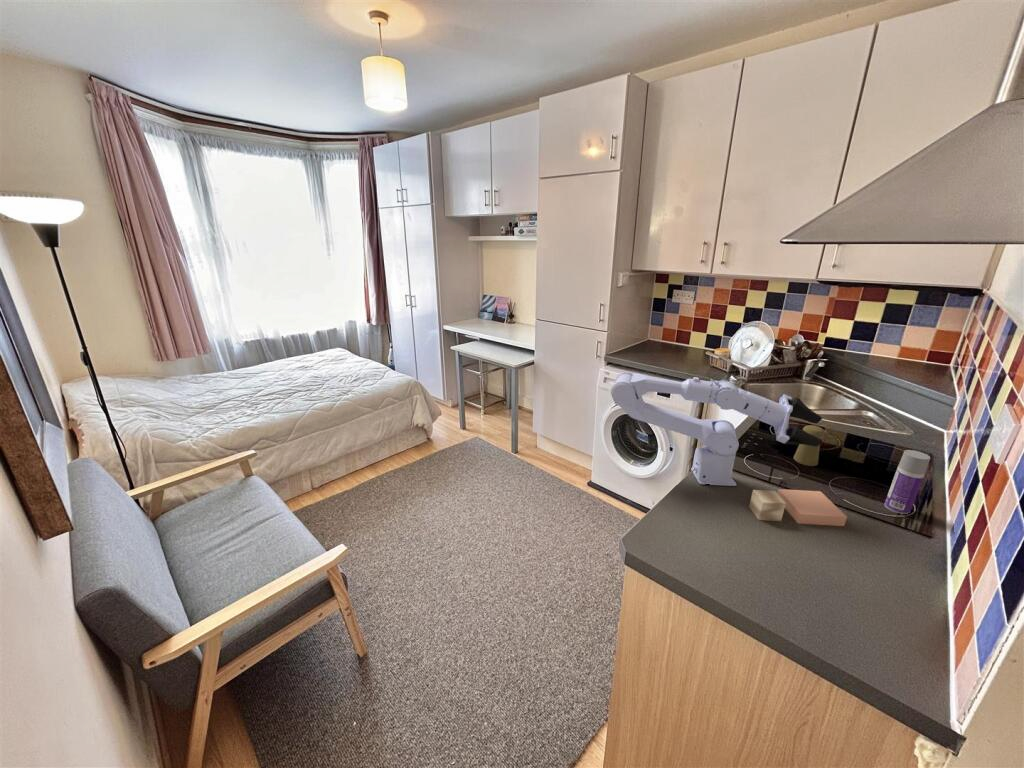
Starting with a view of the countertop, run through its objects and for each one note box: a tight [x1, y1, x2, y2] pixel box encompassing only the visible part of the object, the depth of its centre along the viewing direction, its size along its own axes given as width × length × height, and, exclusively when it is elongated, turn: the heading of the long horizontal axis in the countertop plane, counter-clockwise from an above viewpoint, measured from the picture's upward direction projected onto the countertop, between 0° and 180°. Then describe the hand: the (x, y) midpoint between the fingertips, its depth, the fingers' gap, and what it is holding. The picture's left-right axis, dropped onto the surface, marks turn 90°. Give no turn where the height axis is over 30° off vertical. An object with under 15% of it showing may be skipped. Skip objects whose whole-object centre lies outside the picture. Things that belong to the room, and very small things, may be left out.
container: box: [883, 449, 931, 515], centre depth 97 cm, size 5×5×15 cm
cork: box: [793, 424, 825, 467], centre depth 119 cm, size 6×6×11 cm
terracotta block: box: [776, 488, 848, 527], centre depth 98 cm, size 10×10×3 cm
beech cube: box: [748, 489, 786, 522], centre depth 97 cm, size 5×5×5 cm
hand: (819, 431), depth 100 cm, fingers open, 7 cm apart
